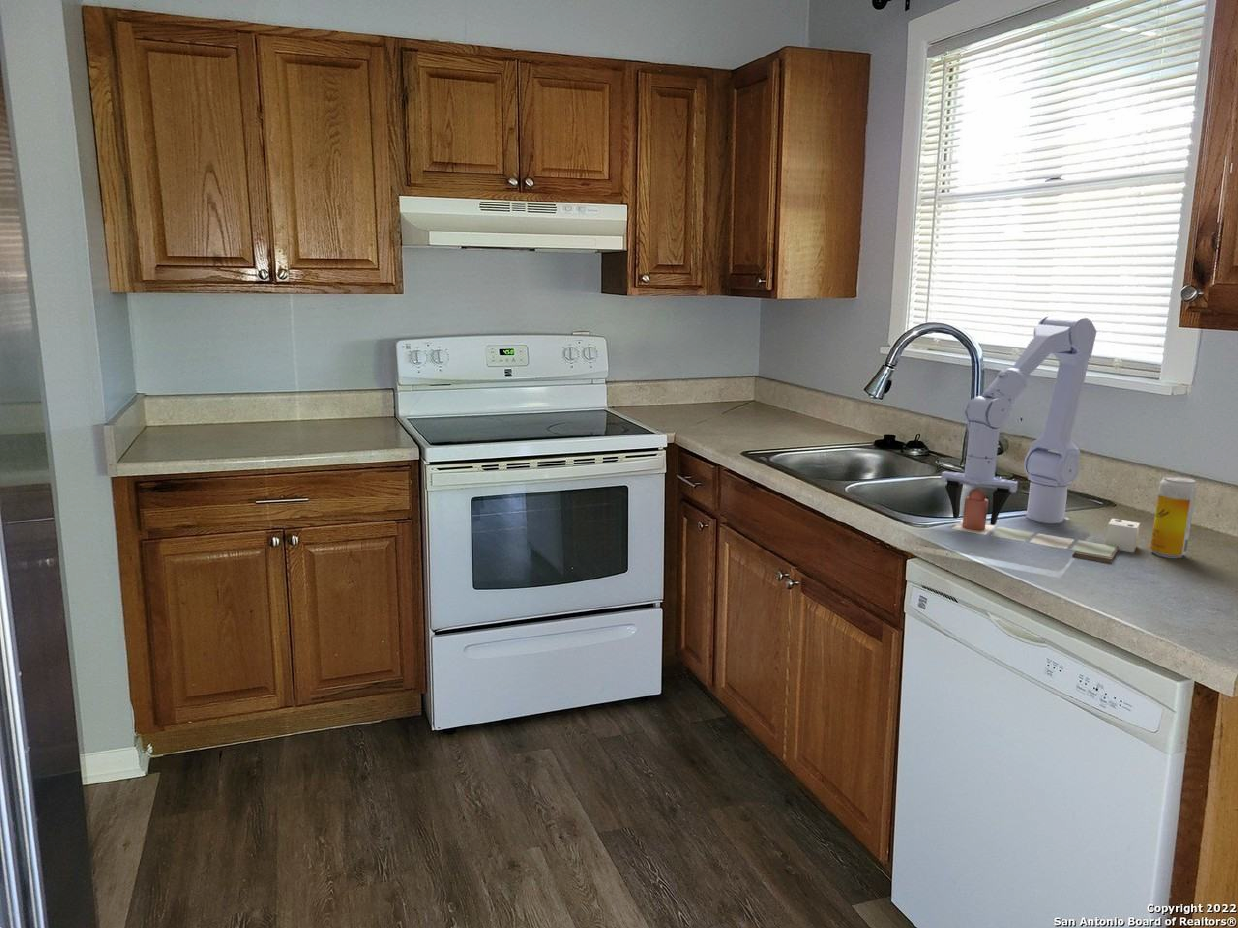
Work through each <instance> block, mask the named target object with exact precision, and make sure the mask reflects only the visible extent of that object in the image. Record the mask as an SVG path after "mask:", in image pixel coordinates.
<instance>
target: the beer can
mask: <svg viewBox="0 0 1238 928" xmlns="http://www.w3.org/2000/svg"><path fill="white" fill-rule="evenodd" d="M1158 487H1159V488H1158V493H1157V499H1156V507H1155V514H1154V518H1153V525H1152V532H1151V540H1150V545H1149V549H1151V551H1152V553H1153V554H1154V555H1155V556H1159V557H1163V558H1169V559H1181V558H1183V556H1185V555H1186V554H1187V552H1188V551H1187V549H1188V544H1189V539H1190V538H1189V536H1190V531H1191V525H1192V519H1193V513H1194V506H1195V501H1196V495H1197V494H1196V493H1197V488H1198V486H1197V484H1196V480H1194V479H1192V478H1190V477H1184V476H1179V475H1178V476H1176V475H1166V476H1163V477H1162V479H1161V481H1160V482H1159V485H1158Z"/></svg>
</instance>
